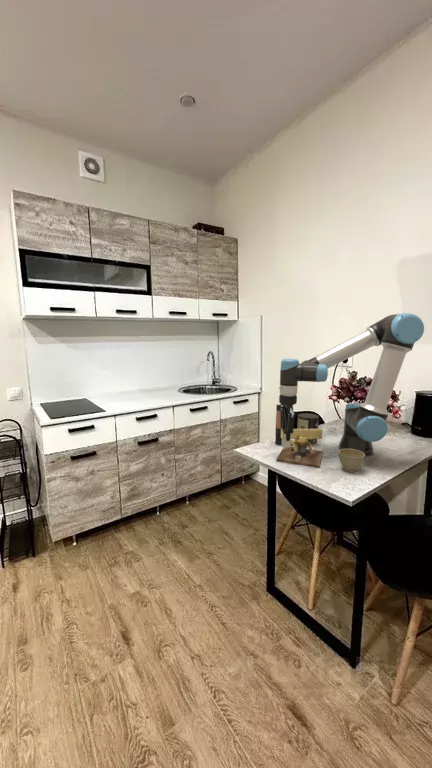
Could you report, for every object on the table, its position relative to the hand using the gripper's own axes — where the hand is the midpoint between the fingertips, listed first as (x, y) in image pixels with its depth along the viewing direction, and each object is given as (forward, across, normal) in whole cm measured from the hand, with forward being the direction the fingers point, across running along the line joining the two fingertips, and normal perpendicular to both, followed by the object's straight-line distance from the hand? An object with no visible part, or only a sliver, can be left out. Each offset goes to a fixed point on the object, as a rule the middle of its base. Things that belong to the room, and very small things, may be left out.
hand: (285, 446), depth 148 cm
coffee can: (+6, -18, +18) cm, 27 cm away
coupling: (+1, 0, +7) cm, 7 cm away
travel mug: (+6, -18, +5) cm, 20 cm away
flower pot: (+6, +15, +22) cm, 28 cm away
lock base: (+5, 0, +7) cm, 9 cm away
